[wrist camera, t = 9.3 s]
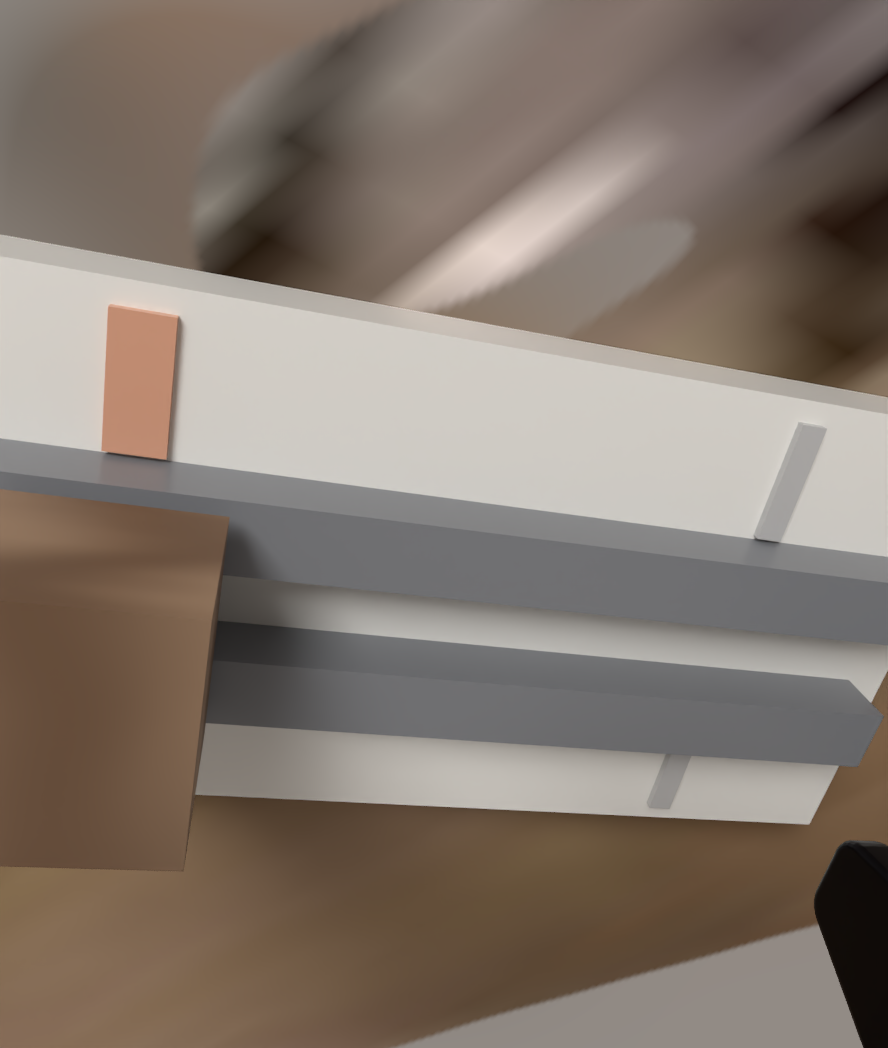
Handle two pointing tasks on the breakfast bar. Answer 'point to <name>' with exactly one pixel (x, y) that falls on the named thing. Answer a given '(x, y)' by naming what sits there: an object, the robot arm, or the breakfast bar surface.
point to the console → (473, 542)
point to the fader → (103, 679)
